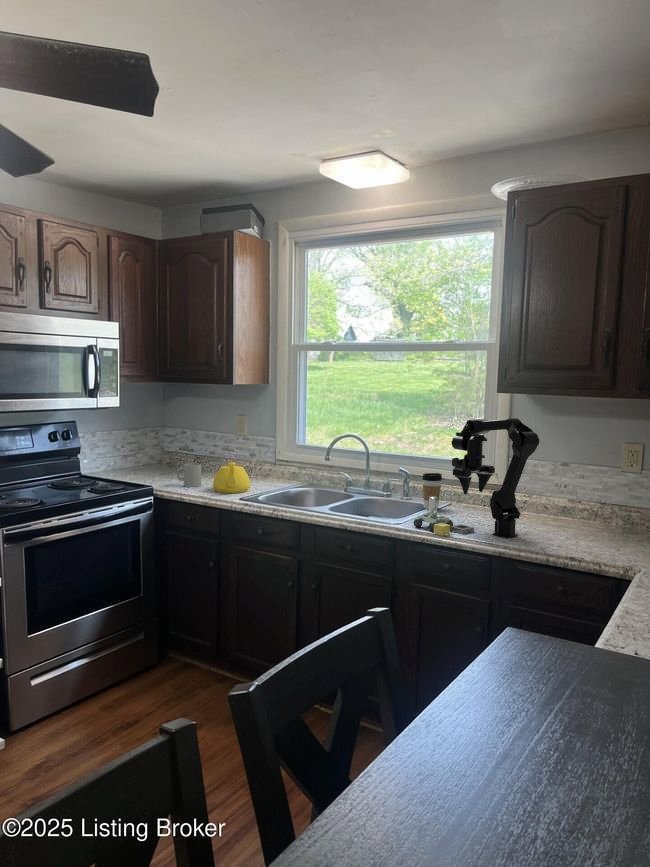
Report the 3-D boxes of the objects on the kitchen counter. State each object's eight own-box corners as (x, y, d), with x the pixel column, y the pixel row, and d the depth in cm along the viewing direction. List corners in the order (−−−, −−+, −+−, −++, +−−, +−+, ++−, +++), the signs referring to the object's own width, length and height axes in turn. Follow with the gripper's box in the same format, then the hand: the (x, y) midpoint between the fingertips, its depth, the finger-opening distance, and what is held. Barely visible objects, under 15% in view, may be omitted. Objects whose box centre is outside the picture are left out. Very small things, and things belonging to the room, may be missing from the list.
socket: (474, 531, 232) (474, 527, 231) (463, 534, 228) (463, 529, 228) (460, 528, 236) (460, 524, 236) (449, 530, 233) (449, 526, 232)
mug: (202, 484, 319) (202, 463, 318) (199, 487, 310) (199, 465, 309) (178, 484, 318) (178, 462, 317) (175, 487, 310) (175, 465, 309)
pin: (438, 518, 237) (439, 497, 236) (432, 519, 235) (433, 498, 234) (431, 516, 239) (433, 496, 238) (426, 517, 237) (427, 497, 236)
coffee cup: (440, 510, 268) (442, 475, 267) (420, 509, 270) (421, 474, 268) (441, 506, 276) (442, 472, 275) (421, 505, 278) (422, 471, 277)
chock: (449, 534, 227) (450, 525, 227) (442, 536, 225) (442, 526, 224) (441, 532, 230) (441, 522, 230) (433, 533, 228) (434, 524, 227)
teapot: (250, 496, 292) (251, 466, 291) (212, 496, 290) (212, 466, 288) (249, 486, 317) (250, 459, 315) (213, 486, 314) (214, 459, 313)
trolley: (453, 528, 235) (453, 517, 235) (435, 532, 229) (435, 520, 229) (431, 523, 244) (431, 512, 243) (413, 526, 238) (413, 515, 237)
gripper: (473, 448, 252) (471, 487, 253) (442, 451, 240) (440, 492, 241) (496, 451, 243) (494, 491, 244) (465, 454, 231) (463, 496, 233)
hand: (473, 493), depth 241 cm, fingers open, 9 cm apart
